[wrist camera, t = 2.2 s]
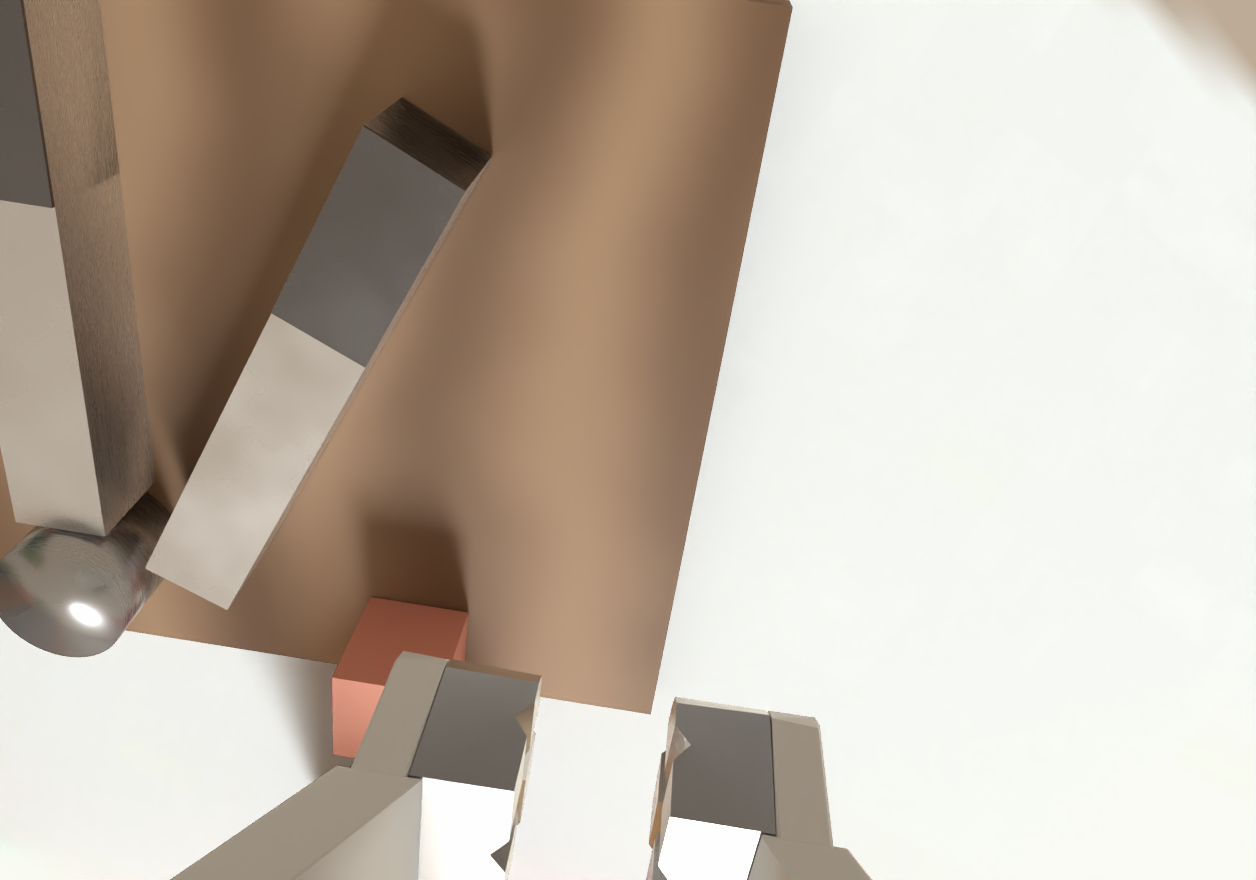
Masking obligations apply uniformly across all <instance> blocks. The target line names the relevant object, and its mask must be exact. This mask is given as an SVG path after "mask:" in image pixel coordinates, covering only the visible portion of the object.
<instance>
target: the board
mask: <svg viewBox="0 0 1256 880" xmlns="http://www.w3.org/2000/svg"><path fill="white" fill-rule="evenodd" d="M100 7H101V16H102V24H103V33H104V41H105V50H106V58H107V67H108V75H109V84H110V92H111V101H112V109H113V118H114V126H115V135H116V144H117V152H118V161H119V169H120V178H121V186H122V195H123V203H124V212H125V220H126V229H127V237H128V246H129V254H130V263H131V271H132V280H133V288H134V297H135V305H136V314H137V322H138V331H139V339H140V348H141V356H142V365H143V373H144V382H145V390H146V399H147V407H148V416H149V424H150V433H151V441H152V450H153V458H154V467H155V475H156V481H155V482H154V483H153V484H152V486H151V487H150V488H149V489H148V490H147V491H146V493H148V494H150V495H151V496H152V497H154V498H155V499H156V500H158V501H159V502H160V503H161V504H162V505H163V506H164V507H165V508H166V509H167V510H168V511H169V513H170V514H171V515H172V513H173V511H174V509H175V507H176V505H177V503H178V500H179V498H180V496H181V494H182V492H183V490H184V488H185V486H186V484H187V482H188V480H189V478H190V476H191V474H192V472H193V470H194V468H195V466H196V464H197V462H198V460H199V458H200V456H201V454H202V452H203V450H204V448H205V446H206V444H207V442H208V440H209V438H210V436H211V434H212V432H213V430H214V428H215V426H216V424H217V422H218V420H219V418H220V416H221V414H222V412H223V410H224V408H225V406H226V404H227V402H228V400H229V398H230V396H231V394H232V392H233V390H234V388H235V386H236V384H237V382H238V380H239V377H240V375H241V373H242V371H243V369H244V367H245V365H246V363H247V361H248V359H249V357H250V355H251V353H252V351H253V349H254V347H255V345H256V343H257V341H258V339H259V337H260V335H261V333H262V331H263V329H264V327H265V325H266V323H267V321H268V319H269V317H270V315H271V311H272V309H273V307H274V305H275V303H276V301H277V299H278V297H279V295H280V293H281V291H282V289H283V287H284V285H285V283H286V281H287V279H288V277H289V275H290V273H291V271H292V269H293V267H294V265H295V263H296V261H297V259H298V257H299V255H300V253H301V251H302V249H303V247H304V245H305V243H306V241H307V239H308V237H309V235H310V233H311V231H312V229H313V226H314V224H315V222H316V220H317V218H318V216H319V214H320V212H321V210H322V208H323V206H324V204H325V202H326V200H327V198H328V196H329V194H330V192H331V190H332V188H333V186H334V184H335V182H336V180H337V178H338V176H339V174H340V172H341V170H342V168H343V166H344V164H345V162H346V160H347V158H348V156H349V154H350V152H351V150H352V148H353V146H354V144H355V142H356V140H357V138H358V136H359V134H360V132H361V130H362V128H363V126H364V125H365V124H367V123H368V122H369V121H371V120H372V119H373V118H375V117H376V116H377V115H379V114H380V113H381V112H383V111H384V110H385V109H387V108H388V107H389V106H391V105H392V104H393V103H395V102H396V101H397V100H399V99H400V98H401V97H403V98H404V99H406V100H407V101H409V102H410V103H412V104H413V105H415V106H417V107H418V108H420V109H421V110H423V111H424V112H426V113H427V114H429V115H430V116H432V117H434V118H435V119H437V120H438V121H440V122H441V123H443V124H444V125H446V126H447V127H449V128H451V129H452V130H454V131H455V132H457V133H458V134H460V135H461V136H463V137H464V138H466V139H468V140H469V141H471V142H472V143H474V144H475V145H477V146H478V147H480V148H481V149H483V150H485V151H486V152H488V153H489V154H491V155H492V158H491V160H490V161H489V163H488V165H487V167H486V168H485V170H484V172H483V173H482V175H481V177H480V179H479V180H478V182H477V184H476V186H475V187H474V189H473V191H472V193H471V194H470V196H469V198H468V200H467V201H466V203H465V205H464V207H463V208H462V210H461V212H460V214H459V215H458V217H457V219H456V221H455V222H454V224H453V226H452V228H451V229H450V231H449V233H448V235H447V236H446V238H445V240H444V242H443V243H442V245H441V247H440V249H439V250H438V252H437V254H436V256H435V257H434V259H433V261H432V263H431V264H430V266H429V268H428V270H427V271H426V273H425V275H424V277H423V278H422V280H421V282H420V284H419V285H418V287H417V289H416V291H415V292H414V294H413V296H412V298H411V299H410V301H409V303H408V305H407V306H406V308H405V310H404V311H403V313H402V315H401V317H400V318H399V320H398V322H397V324H396V325H395V327H394V329H393V331H392V332H391V334H390V336H389V338H388V339H387V341H386V343H385V345H384V346H383V348H382V350H381V352H380V353H379V355H378V357H377V359H376V360H375V362H374V364H373V366H372V367H371V369H370V371H369V373H368V374H367V376H366V378H365V380H364V381H363V383H362V385H361V387H360V388H359V390H358V392H357V394H356V395H355V397H354V399H353V401H352V402H351V404H350V406H349V408H348V409H347V411H346V413H345V415H344V416H343V418H342V420H341V422H340V423H339V425H338V427H337V429H336V430H335V432H334V434H333V436H332V437H331V439H330V441H329V442H328V444H327V446H326V448H325V449H324V451H323V453H322V455H321V456H320V458H319V460H318V462H317V463H316V465H315V467H314V469H313V470H312V472H311V474H310V476H309V477H308V479H307V481H306V483H305V484H304V486H303V488H302V490H301V491H300V493H299V495H298V497H297V498H296V500H295V502H294V504H293V505H292V507H291V509H290V511H289V512H288V514H287V516H286V518H285V519H284V521H283V523H282V525H281V526H280V528H279V530H278V532H277V533H276V535H275V537H274V539H273V540H272V542H271V544H270V546H269V547H268V549H267V551H266V552H265V554H264V555H263V557H262V558H261V560H260V561H259V563H258V564H257V566H256V567H255V569H254V570H253V572H252V573H251V575H250V576H249V578H248V580H247V581H246V583H245V584H244V586H243V587H242V589H241V590H240V592H239V593H238V595H237V596H236V598H235V599H234V601H233V602H232V604H231V605H230V607H229V608H228V610H226V609H224V608H222V607H220V606H218V605H216V604H214V603H212V602H210V601H208V600H206V599H204V598H202V597H200V596H198V595H196V594H194V593H192V592H190V591H189V590H187V589H185V588H183V587H181V586H179V585H177V584H175V583H173V582H171V581H169V580H167V579H164V580H163V581H162V583H161V584H160V585H159V587H158V588H157V589H156V591H155V592H154V593H153V594H152V596H151V597H150V598H149V600H148V601H147V602H146V603H145V605H144V606H143V607H142V609H141V610H140V611H139V613H138V614H137V615H136V616H135V618H134V619H133V620H132V622H131V623H130V624H129V625H128V627H127V628H126V629H125V630H127V631H133V632H139V633H146V634H152V635H158V636H164V637H171V638H177V639H183V640H189V641H196V642H202V643H208V644H214V645H221V646H227V647H233V648H239V649H246V650H252V651H258V652H264V653H271V654H277V655H283V656H289V657H296V658H302V659H308V660H314V661H320V662H327V663H333V664H339V662H340V660H341V658H342V656H343V654H344V651H345V649H346V647H347V645H348V643H349V641H350V639H351V637H352V635H353V633H354V631H355V628H356V626H357V624H358V622H359V620H360V618H361V616H362V614H363V612H364V610H365V608H366V605H367V603H368V601H369V599H370V597H374V598H380V599H386V600H393V601H399V602H405V603H411V604H418V605H424V606H430V607H436V608H443V609H449V610H455V611H461V612H468V627H467V641H466V655H465V661H466V662H471V663H476V664H482V665H487V666H492V667H498V668H503V669H508V670H514V671H519V672H524V673H530V674H535V675H540V676H542V682H541V692H540V697H545V698H552V699H558V700H564V701H570V702H577V703H583V704H589V705H595V706H602V707H608V708H614V709H620V710H627V711H633V712H639V713H645V714H651V709H652V704H653V699H654V695H655V690H656V685H657V680H658V675H659V670H660V665H661V660H662V655H663V650H664V645H665V640H666V635H667V630H668V625H669V620H670V615H671V610H672V605H673V600H674V595H675V590H676V585H677V580H678V575H679V570H680V565H681V560H682V555H683V550H684V545H685V540H686V535H687V530H688V525H689V520H690V515H691V510H692V505H693V500H694V495H695V490H696V485H697V480H698V475H699V470H700V465H701V460H702V455H703V451H704V446H705V441H706V436H707V431H708V426H709V421H710V416H711V411H712V406H713V401H714V396H715V391H716V386H717V381H718V376H719V371H720V366H721V361H722V356H723V351H724V346H725V341H726V336H727V331H728V326H729V321H730V316H731V311H732V306H733V301H734V296H735V291H736V286H737V281H738V276H739V271H740V266H741V261H742V256H743V251H744V246H745V241H746V236H747V231H748V226H749V221H750V216H751V211H752V206H753V202H754V197H755V192H756V187H757V182H758V177H759V172H760V167H761V162H762V157H763V152H764V147H765V142H766V137H767V132H768V127H769V122H770V117H771V112H772V107H773V102H774V97H775V92H776V87H777V82H778V77H779V72H780V67H781V62H782V57H783V52H784V47H785V42H786V37H787V32H788V27H789V22H790V17H791V12H792V5H791V3H790V1H789V0H100ZM35 526H36V525H30V524H23V523H17V522H16V521H15V516H14V511H13V506H12V501H11V497H10V492H9V487H8V482H7V477H6V472H5V467H4V462H3V458H2V453H1V448H0V560H1V559H2V558H3V557H4V556H6V555H7V554H8V553H9V552H10V551H11V550H12V549H13V548H14V547H15V546H16V545H17V544H18V543H19V542H20V541H21V540H22V539H23V538H24V537H25V536H26V535H27V534H28V533H29V532H30V531H31V530H32V529H33V528H34V527H35Z"/></svg>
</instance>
